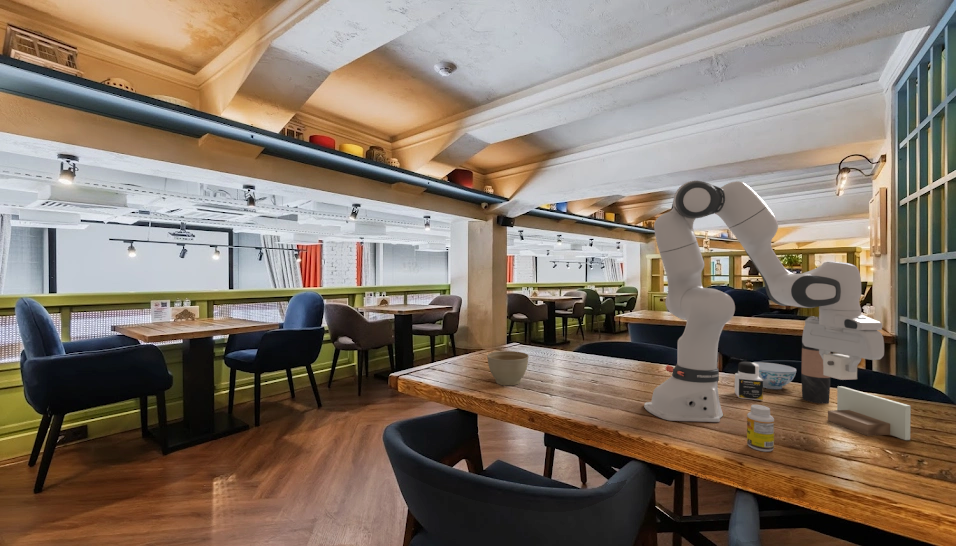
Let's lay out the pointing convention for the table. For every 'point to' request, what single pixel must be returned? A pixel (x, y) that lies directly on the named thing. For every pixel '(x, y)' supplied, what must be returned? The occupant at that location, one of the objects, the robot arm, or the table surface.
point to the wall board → (877, 409)
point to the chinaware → (775, 374)
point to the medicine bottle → (748, 381)
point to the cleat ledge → (859, 422)
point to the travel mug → (814, 377)
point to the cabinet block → (837, 366)
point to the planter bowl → (507, 366)
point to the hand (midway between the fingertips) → (839, 368)
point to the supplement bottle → (760, 428)
